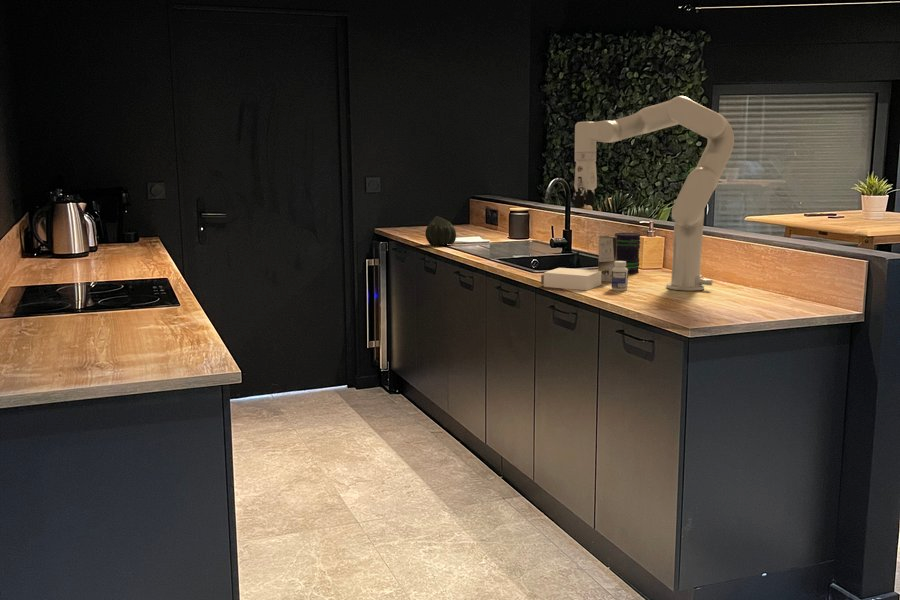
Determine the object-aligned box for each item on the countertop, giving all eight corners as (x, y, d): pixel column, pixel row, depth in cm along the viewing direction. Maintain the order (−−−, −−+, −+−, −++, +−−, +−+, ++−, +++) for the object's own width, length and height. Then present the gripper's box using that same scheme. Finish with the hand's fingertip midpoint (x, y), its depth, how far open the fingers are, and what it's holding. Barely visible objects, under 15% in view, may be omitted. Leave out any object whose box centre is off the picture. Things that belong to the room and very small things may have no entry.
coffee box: (615, 282, 313) (617, 237, 310) (597, 281, 314) (598, 237, 311) (615, 278, 322) (617, 235, 319) (598, 277, 323) (599, 234, 320)
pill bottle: (616, 287, 300) (617, 260, 298) (630, 289, 297) (631, 261, 295) (608, 289, 296) (609, 261, 294) (622, 291, 292) (623, 263, 291)
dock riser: (600, 284, 307) (601, 270, 306) (587, 290, 294) (587, 275, 294) (556, 281, 315) (556, 267, 314) (541, 286, 303) (541, 272, 302)
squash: (458, 236, 417) (454, 211, 424) (427, 237, 415) (424, 212, 422) (455, 253, 429) (452, 228, 436) (426, 254, 427) (422, 230, 434)
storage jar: (644, 273, 335) (645, 234, 332) (622, 274, 331) (623, 235, 329) (629, 269, 344) (631, 232, 341) (608, 271, 340) (609, 233, 338)
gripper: (586, 157, 295) (585, 208, 298) (604, 157, 310) (603, 205, 313) (565, 157, 299) (565, 207, 302) (584, 157, 313) (583, 204, 316)
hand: (584, 206), depth 307 cm, fingers open, 9 cm apart
